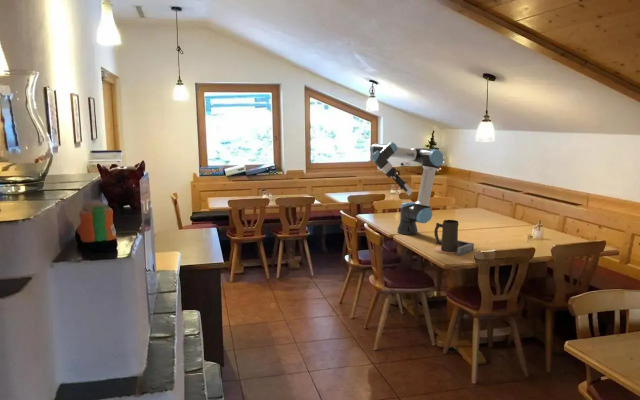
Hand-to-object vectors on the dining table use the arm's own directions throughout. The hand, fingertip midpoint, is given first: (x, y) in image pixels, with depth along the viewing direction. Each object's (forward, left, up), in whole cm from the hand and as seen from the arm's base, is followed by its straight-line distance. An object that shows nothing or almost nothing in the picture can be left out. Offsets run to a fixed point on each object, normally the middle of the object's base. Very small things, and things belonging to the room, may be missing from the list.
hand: (410, 193), depth 344 cm
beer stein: (-3, +27, -35) cm, 45 cm away
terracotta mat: (-4, +27, -36) cm, 45 cm away
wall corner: (-8, +29, -36) cm, 47 cm away
